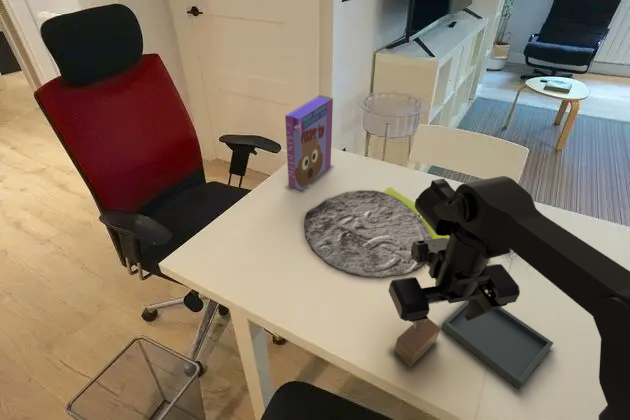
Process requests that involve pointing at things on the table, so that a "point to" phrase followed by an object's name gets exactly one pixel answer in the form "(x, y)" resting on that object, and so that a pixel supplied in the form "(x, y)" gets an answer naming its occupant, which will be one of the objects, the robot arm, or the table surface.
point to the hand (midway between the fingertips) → (441, 322)
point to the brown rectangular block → (416, 342)
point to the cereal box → (309, 141)
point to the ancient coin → (365, 233)
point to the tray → (500, 342)
